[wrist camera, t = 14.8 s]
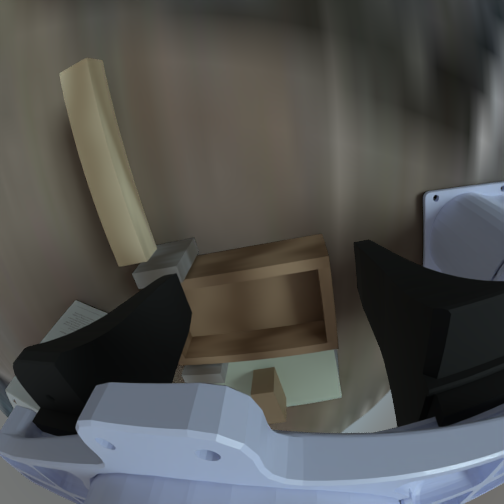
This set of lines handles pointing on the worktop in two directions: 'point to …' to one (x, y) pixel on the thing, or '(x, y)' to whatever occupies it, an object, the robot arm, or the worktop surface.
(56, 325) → the small box
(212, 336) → the open brown box
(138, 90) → the worktop surface
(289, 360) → the mint green slab
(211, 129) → the worktop surface
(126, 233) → the beige rectangular bar
